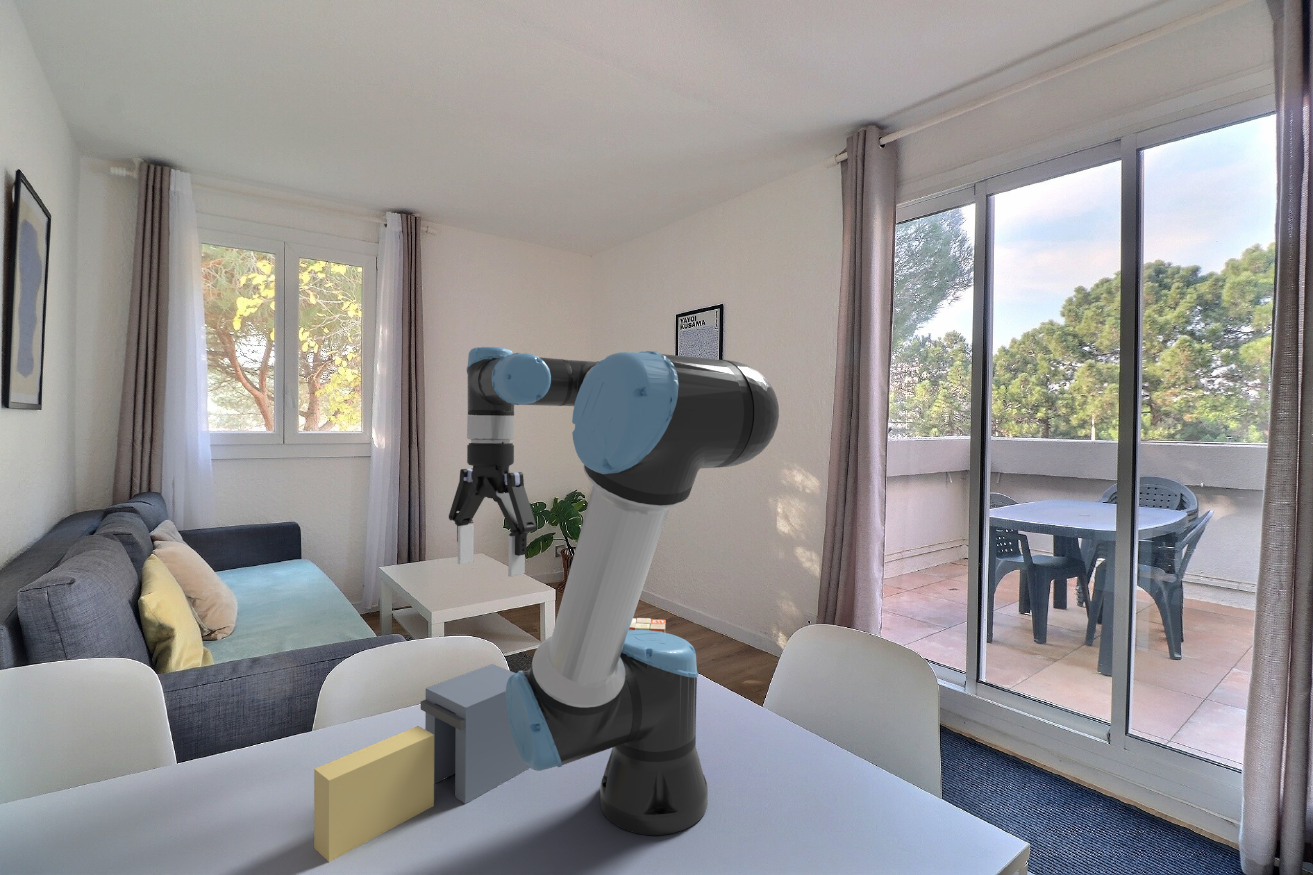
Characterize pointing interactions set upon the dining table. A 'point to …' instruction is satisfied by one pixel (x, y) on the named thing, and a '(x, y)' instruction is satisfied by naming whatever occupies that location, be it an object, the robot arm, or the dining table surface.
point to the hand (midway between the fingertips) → (490, 568)
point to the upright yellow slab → (372, 791)
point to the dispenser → (472, 731)
